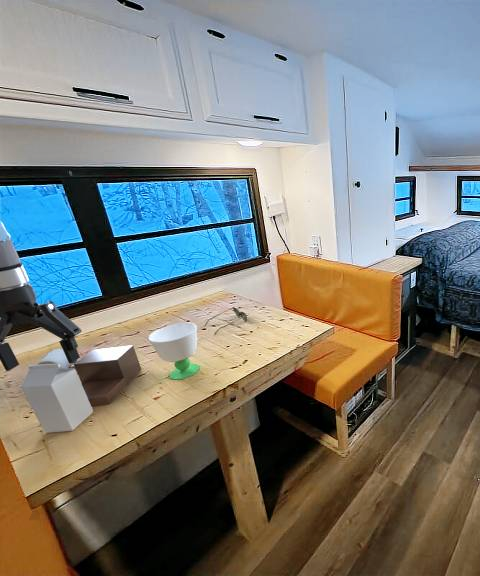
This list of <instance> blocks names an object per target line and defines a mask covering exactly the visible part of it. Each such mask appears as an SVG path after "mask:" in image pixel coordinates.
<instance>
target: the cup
mask: <svg viewBox="0 0 480 576" xmlns="http://www.w3.org/2000/svg"><path fill="white" fill-rule="evenodd" d="M148 341H149V343H150V345H151V346H152V347H153V349H154V351H155V352H156V354H157V355H158V357H159V358H160V359H161V360H162V361H164V362H167V363H174V367H175V368H174V369H173V370H172V371H171V372H170V373H169V378H170V379H171V380H177V381H178V380H184V379H187V378H190V377H192V376H194V375H195V374H197V373H198V372H199V371H200V369H201V368H200V365H199V364H197V363H191V360H190V357H192V356H193V355H194V354H195V353H196V351H197V349H198V327H197V324H195V323H193V322H177V323H172V324H169V325H165V326H163V327H160V328H158V329H156V330H154V331H152V333H150V335H148Z"/></svg>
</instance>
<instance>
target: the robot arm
mask: <svg viewBox="0 0 480 576" xmlns="http://www.w3.org/2000/svg"><path fill="white" fill-rule="evenodd" d="M29 282H30V279H29V277H28V275H27V272H26V270H25V268H24V265H23V263H22V261H21V258H20V256H19V254H18V252H17V249H16V248H15V245H14V243H13V240H12V237H11V235H10V233H9V232H8V231H7V229H6V227H5V226H4V223H3V222H2V221H1V220H0V362H1V364H2V367H3V368H4V370H5V372H9V371H11V370H13V369H15V368H17V367H18V366H20V362H19V361H18V359H17V357H16V354H15V353H14V351H13V349H12V346H11V345H10V342H6V338H7V336H8V334H9V333H10V331H11V329H12V327H13V326H17V325H20V324H21V325H27V324H31V325H34V326H38V327H39V328H41V329H43V330H45V331H47V332H48V333H50V334H52V335H54V336H55V337H57V338H59V339H61V340H58V342H59V344H60V347H61V349H63V351H64V353H65V355H66V358H67V360H68V362H69V363H73V362H75V361H76V360H80V359H81V356H80V354H79V352H78V351H79V350H77V349H78V348H79V344H78V342H77V340H76V336H77V335H79V334H81V333H82V328H80V327H79V326H78V325H77V324H76V323H75V322H73V321H72V320H71V319H70V318H69V317H67V316H66V315H65V314H64V313H63V312H62V311H61V310H60V309H59V308H58V307H57V305H56V303H55V302H54V301H52V300H50V301H47V302H45V303H38V301H37V294H36V292H35V290H34V287H33V285H32V284H31V283H29ZM73 364H74V363H73Z"/></svg>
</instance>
